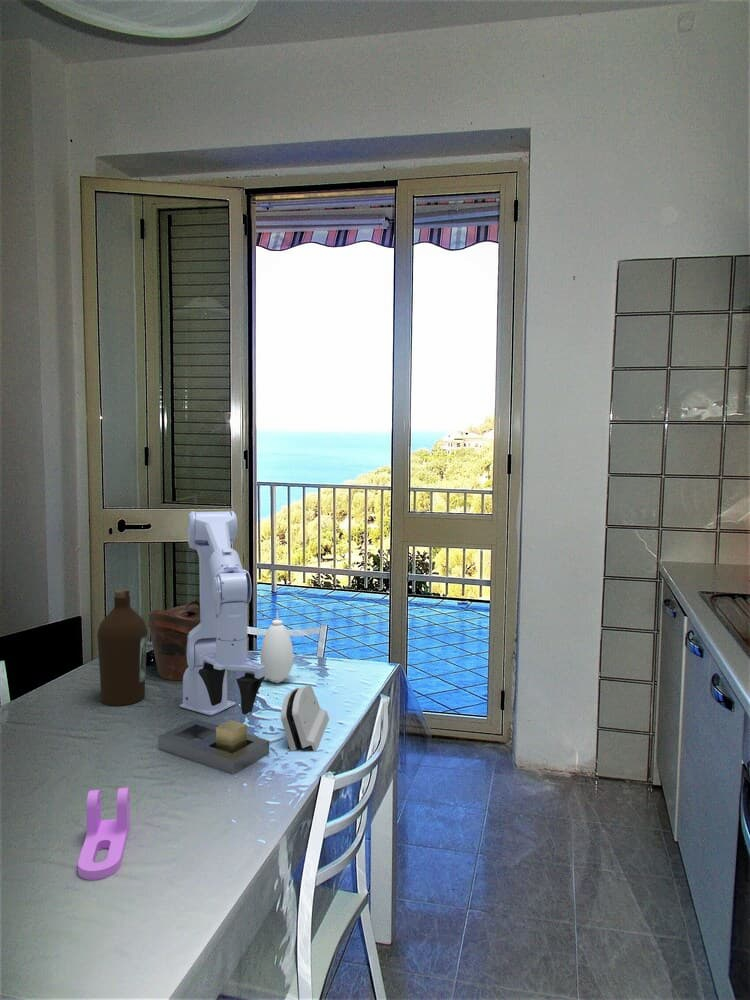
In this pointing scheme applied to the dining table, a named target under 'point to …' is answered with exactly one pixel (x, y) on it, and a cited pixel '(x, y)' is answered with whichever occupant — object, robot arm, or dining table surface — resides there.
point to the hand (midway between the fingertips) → (231, 708)
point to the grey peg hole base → (210, 747)
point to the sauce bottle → (277, 652)
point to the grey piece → (303, 718)
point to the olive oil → (122, 653)
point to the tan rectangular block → (231, 736)
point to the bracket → (104, 836)
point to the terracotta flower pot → (173, 638)
